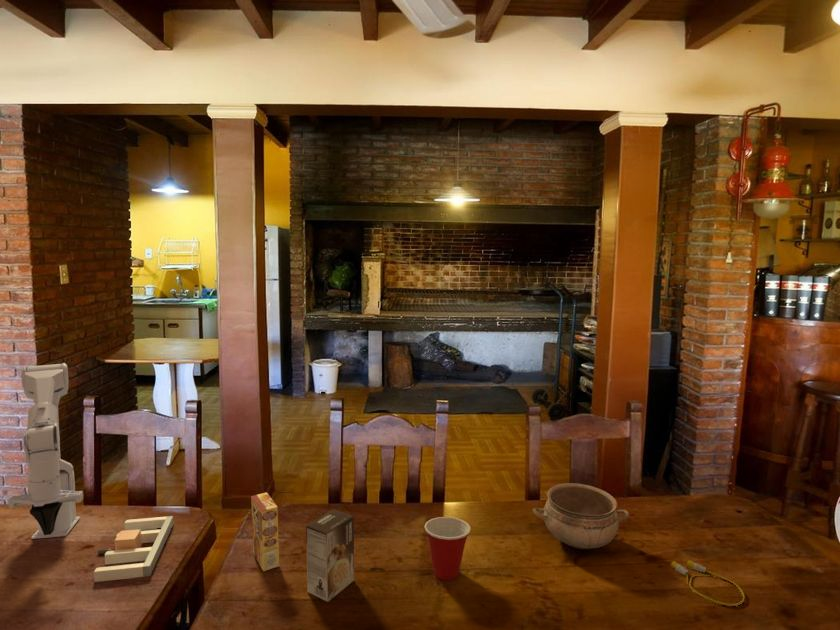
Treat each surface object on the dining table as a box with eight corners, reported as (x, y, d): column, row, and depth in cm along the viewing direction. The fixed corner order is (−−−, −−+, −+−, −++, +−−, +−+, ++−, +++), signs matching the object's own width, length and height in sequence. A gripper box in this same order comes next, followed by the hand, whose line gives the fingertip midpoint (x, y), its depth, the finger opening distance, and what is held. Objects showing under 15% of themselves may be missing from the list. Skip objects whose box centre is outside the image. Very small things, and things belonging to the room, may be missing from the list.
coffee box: (333, 571, 124) (333, 507, 122) (354, 580, 121) (355, 515, 119) (306, 592, 117) (305, 524, 114) (327, 603, 113) (327, 533, 111)
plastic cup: (467, 559, 130) (468, 514, 128) (470, 588, 119) (472, 538, 118) (423, 558, 130) (424, 513, 128) (423, 586, 119) (424, 537, 118)
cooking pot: (539, 562, 129) (542, 516, 128) (524, 522, 148) (526, 481, 147) (640, 564, 129) (644, 518, 128) (613, 524, 148) (616, 483, 147)
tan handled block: (101, 548, 131) (100, 532, 131) (141, 545, 133) (140, 529, 132) (94, 559, 127) (93, 541, 126) (135, 556, 129) (134, 538, 128)
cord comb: (126, 528, 141) (126, 519, 140) (173, 524, 143) (172, 515, 143) (94, 582, 119) (93, 571, 118) (150, 576, 121) (149, 566, 121)
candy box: (280, 566, 126) (279, 506, 123) (262, 572, 123) (261, 511, 121) (268, 548, 133) (267, 491, 131) (251, 553, 130) (250, 495, 128)
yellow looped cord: (717, 566, 130) (717, 559, 130) (756, 610, 115) (757, 601, 114) (667, 565, 130) (668, 557, 130) (700, 608, 115) (701, 600, 115)
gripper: (-2, 487, 116) (4, 545, 117) (72, 482, 119) (76, 538, 121) (15, 474, 122) (20, 528, 124) (85, 469, 126) (88, 522, 127)
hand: (49, 532), depth 123 cm, fingers closed
